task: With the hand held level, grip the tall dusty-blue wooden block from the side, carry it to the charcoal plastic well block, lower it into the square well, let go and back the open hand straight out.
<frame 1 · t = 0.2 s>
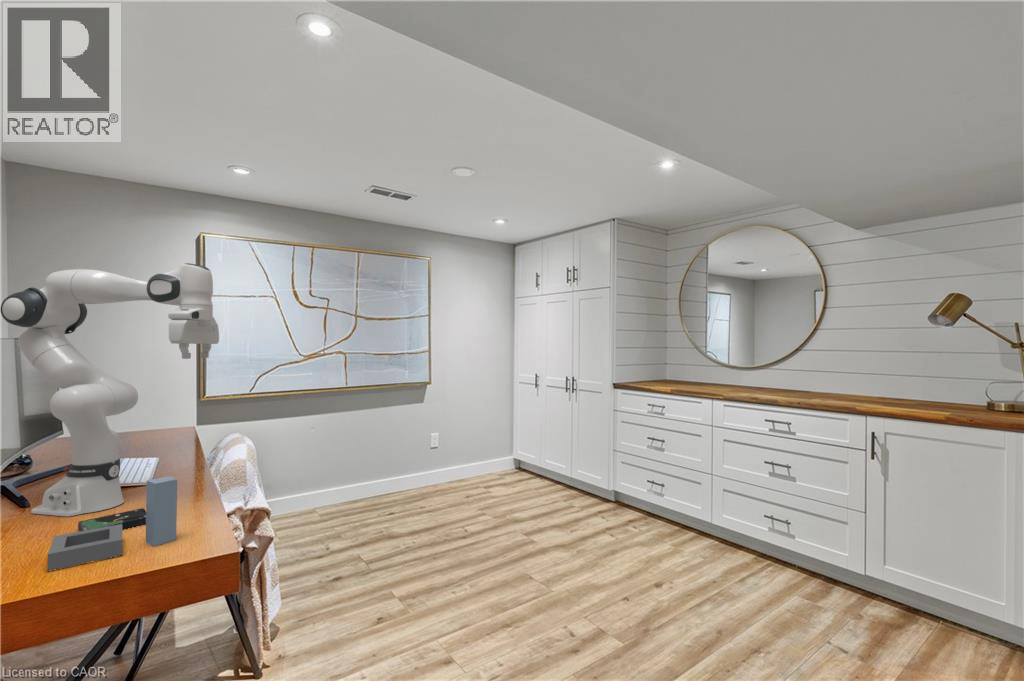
hand: (195, 358, 150), 47 cm above the table, tool pointing down, fingers open, 8 cm apart
disk drive: (116, 528, 133), on the table
well block: (87, 554, 115), on the table
blue block: (161, 541, 123), on the table
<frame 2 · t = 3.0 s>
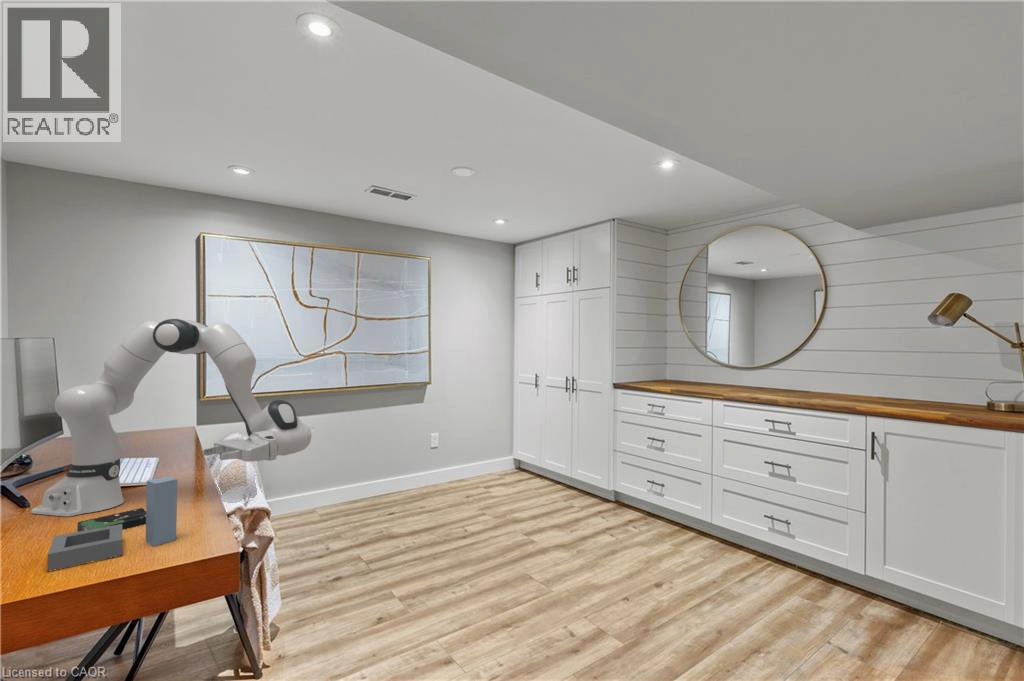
hand: (212, 454, 134), 20 cm above the table, tool horizontal, fingers open, 8 cm apart
nothing on the table moved.
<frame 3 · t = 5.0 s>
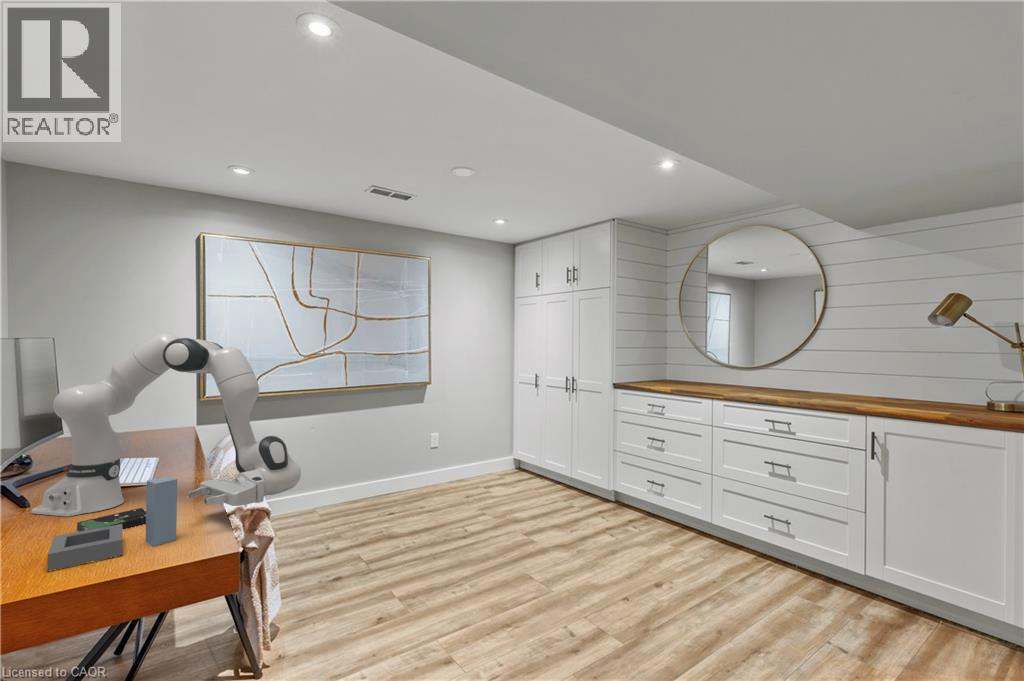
hand: (197, 498, 131), 9 cm above the table, tool horizontal, fingers open, 8 cm apart
nothing on the table moved.
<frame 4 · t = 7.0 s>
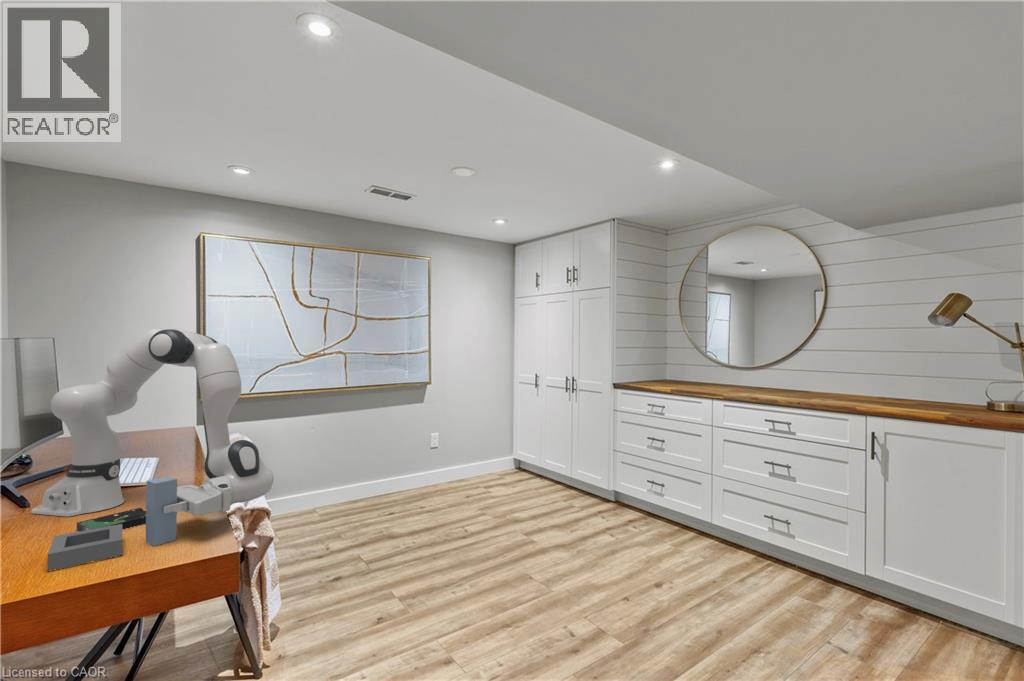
hand: (157, 507, 123), 9 cm above the table, tool horizontal, fingers closed on blue block, 5 cm apart
blue block: (161, 541, 123), on the table, touching gripper
everything else where it was.
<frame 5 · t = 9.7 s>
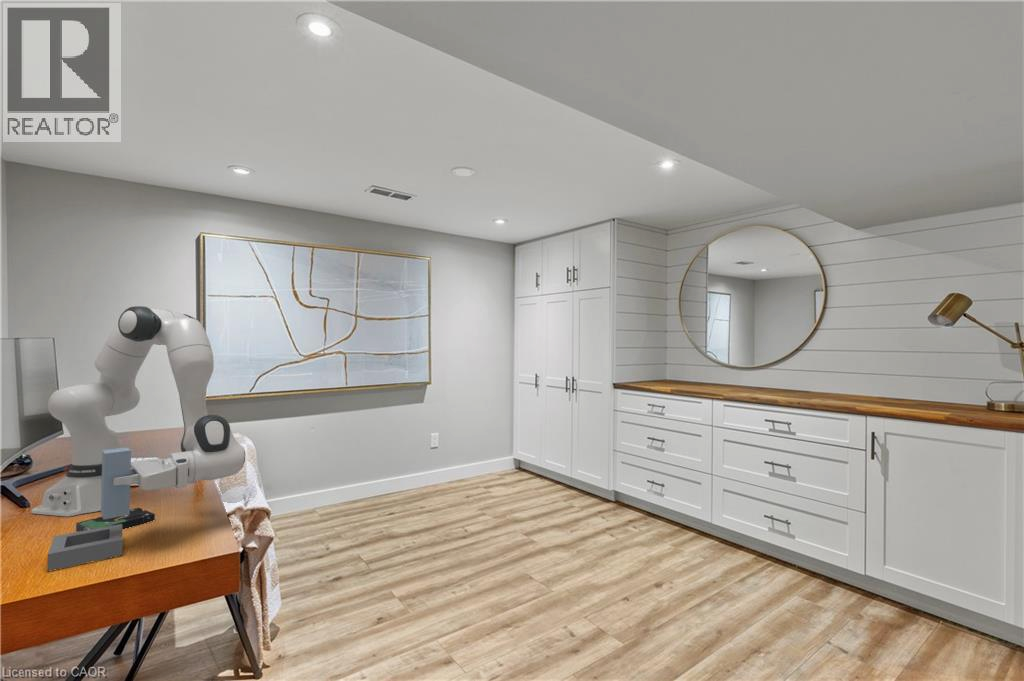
hand: (111, 479, 117), 18 cm above the table, tool horizontal, fingers closed on blue block, 5 cm apart
blue block: (115, 514, 118), point 9 cm above the table, touching gripper
everything else where it was.
when the fingers open (10 cm above the table, at t = 12.1 s): blue block drops 1 cm, resting in well block.
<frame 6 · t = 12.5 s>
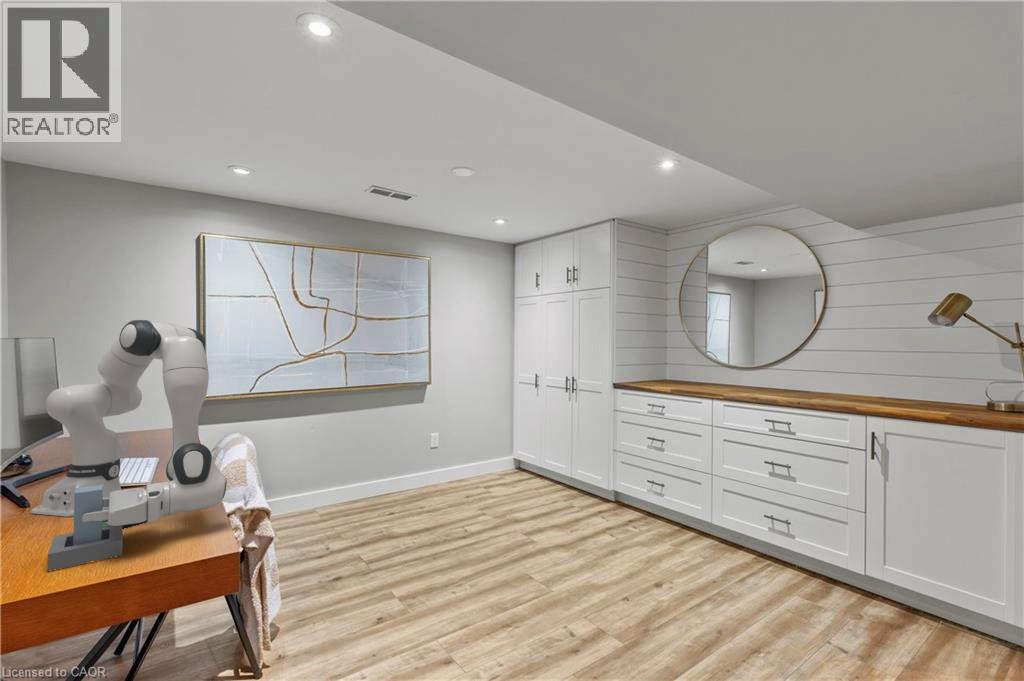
hand: (83, 512, 115), 10 cm above the table, tool horizontal, fingers open, 8 cm apart
blue block: (87, 554, 115), resting in well block
everything else where it was.
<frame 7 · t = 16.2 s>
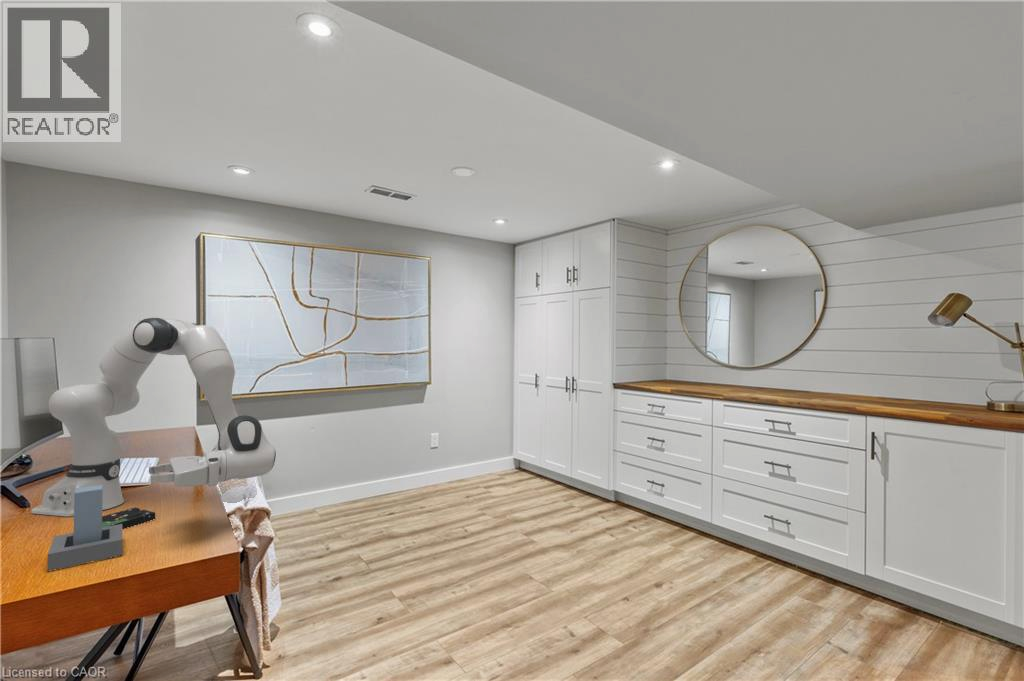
hand: (149, 474, 123), 17 cm above the table, tool horizontal, fingers open, 8 cm apart
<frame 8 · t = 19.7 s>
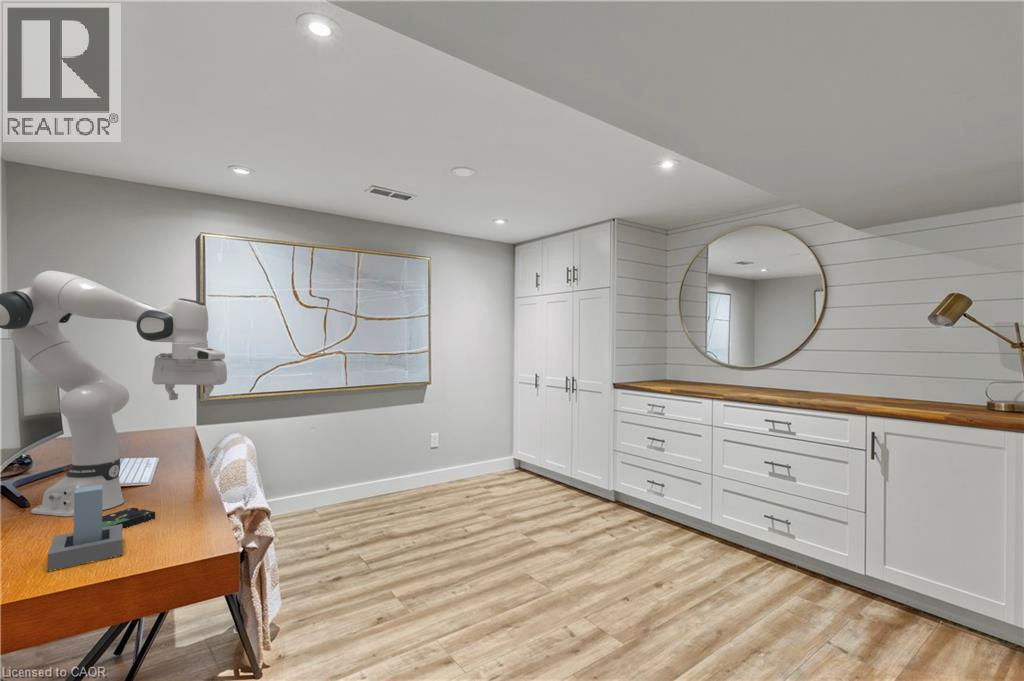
hand: (189, 400, 140), 35 cm above the table, tool pointing down, fingers open, 8 cm apart
at the end: blue block 0.1 cm off-centre on the well block, point 0.0 cm above the well block's base; blue block tilted 0°; the gripper is holding nothing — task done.
